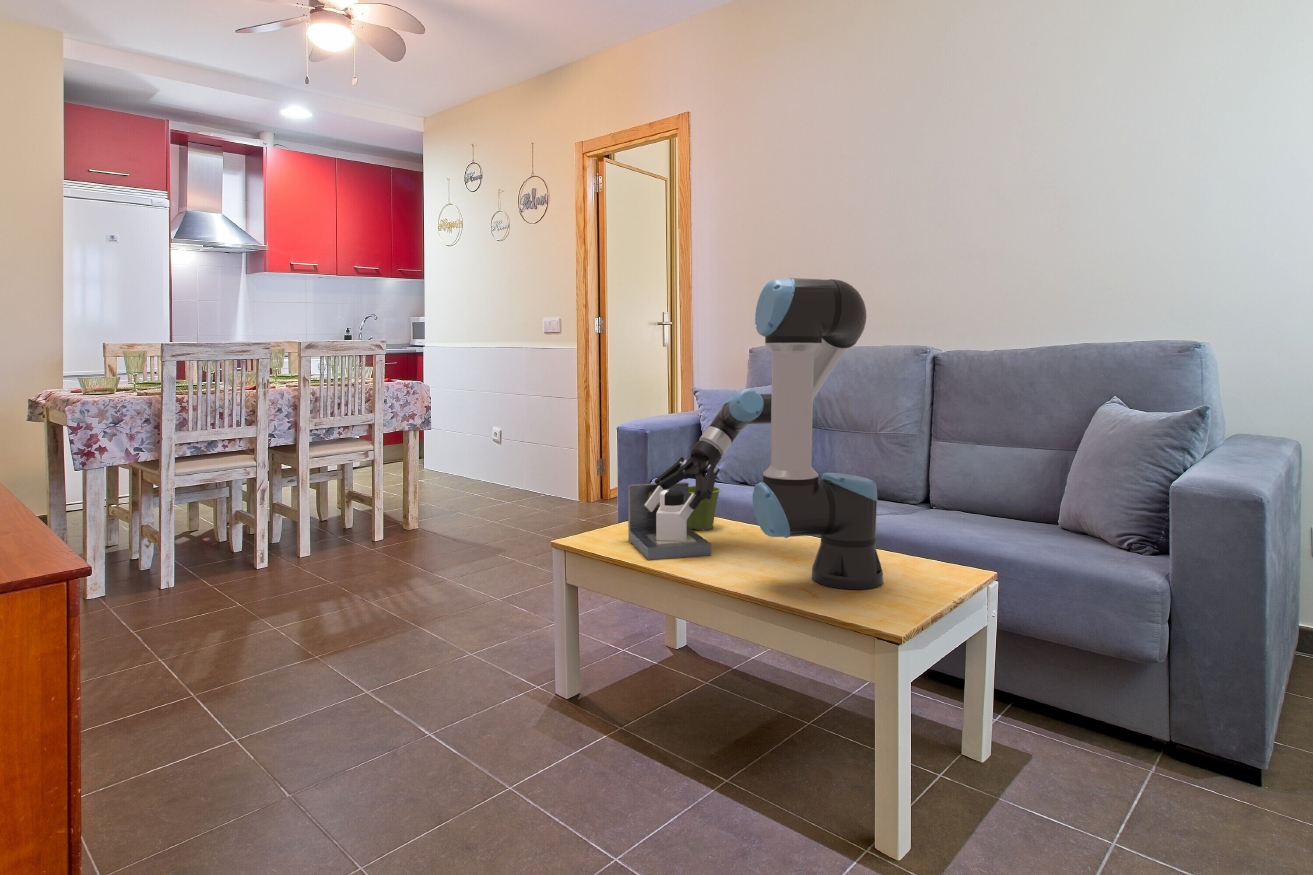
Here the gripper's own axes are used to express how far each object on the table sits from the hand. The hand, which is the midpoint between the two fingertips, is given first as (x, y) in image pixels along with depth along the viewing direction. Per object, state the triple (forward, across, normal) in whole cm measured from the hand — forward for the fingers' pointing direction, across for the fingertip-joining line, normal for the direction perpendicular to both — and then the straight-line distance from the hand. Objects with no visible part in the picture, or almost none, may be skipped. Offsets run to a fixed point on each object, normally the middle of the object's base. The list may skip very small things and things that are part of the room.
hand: (664, 513), depth 191 cm
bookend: (+5, +3, -9) cm, 11 cm away
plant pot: (-10, +15, -24) cm, 30 cm away
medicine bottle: (+3, 0, -6) cm, 7 cm away
